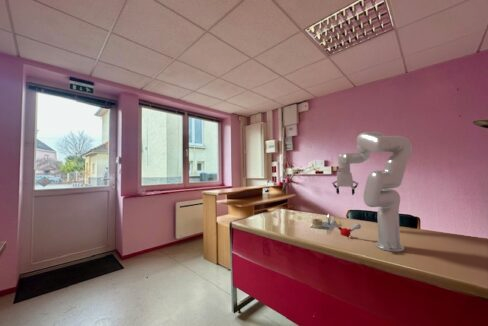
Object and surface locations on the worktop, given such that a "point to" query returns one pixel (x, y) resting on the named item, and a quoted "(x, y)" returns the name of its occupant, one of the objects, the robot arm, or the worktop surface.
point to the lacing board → (325, 226)
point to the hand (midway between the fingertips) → (345, 194)
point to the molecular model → (344, 230)
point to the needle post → (329, 219)
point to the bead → (317, 223)
